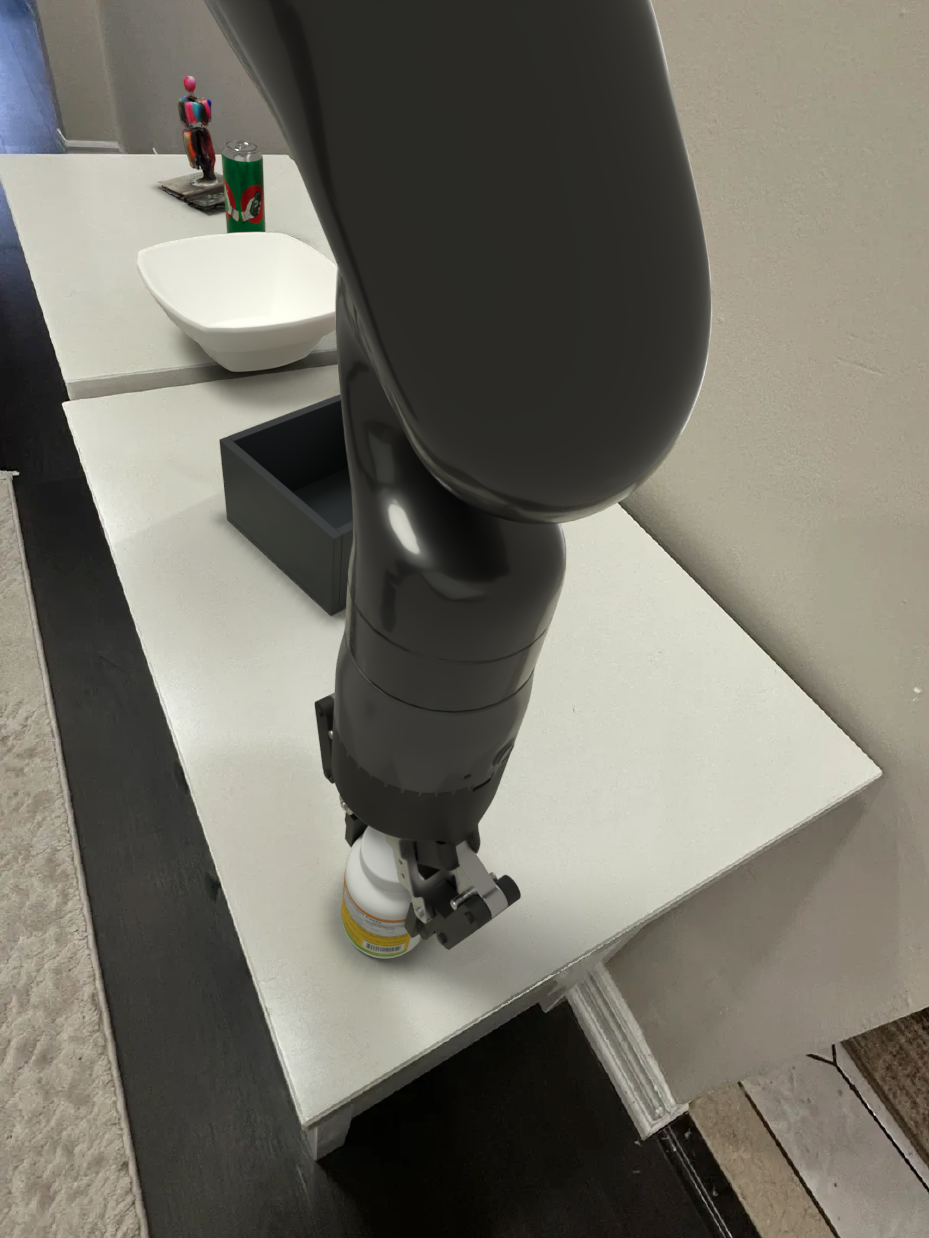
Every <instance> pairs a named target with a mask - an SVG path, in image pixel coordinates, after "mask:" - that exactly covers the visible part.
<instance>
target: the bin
mask: <svg viewBox="0 0 929 1238" xmlns="http://www.w3.org/2000/svg"><path fill="white" fill-rule="evenodd" d="M218 442H219V449H220V450H219V451H220V452H219V453H220V461H221V473H222V482H223V492H224V503H225V512H226V513H225V514H226V520H227V521H228V522H229V523H230V524H231V525H232V526H233V527H234V528H235V529H236V530H237V531H238V532H240V533H241V534H242V535H243V536H244V537H245V538H246V539H247V540H248V541H249V542H250V543H251V544H252V545H254V547H256V548H257V549H258V550H259V552H261V553H262V554H263V555H264V556H265V557H267V558H268V559H269V560H270V561H271V563H273V564H274V565H275V566H276V567H277V568H278V569H279V570H280V571H282V573H284V574H285V575H286V576H287V577H288V578H289V579H290V580H291V581H292V582H293V583H295V584H296V585H297V586H298V587H299V588H300V589H301V590H302V591H303V592H304V593H305V594H306V595H307V596H308V597H310V598H311V600H312V601H314V602H315V603H316V604H317V605H318V606H319V607H320V608H321V609H323V611H325V612H326V613H327V614H328V615H329V616H330V617H332V616H334V615H336V614H338V613H339V612H341V611H343V610H346V600H347V583H348V567H349V559H350V552H351V546H352V540H353V511H352V494H351V484H350V476H349V468H348V461H347V453H346V444H345V437H344V427H343V416H342V406H341V395H340V393H339V394H336V395H333V396H331V397H328V398H325V399H323V400H320V401H317V402H315V403H313V404H309V405H307V406H305V407H302V408H299V409H297V410H293V411H291V412H289V413H286V414H282V415H281V416H278V417H275V418H271V419H270V420H267V421H265V422H262V423H259V424H257V425H256V424H255V425H254V426H250V427H249V428H245V429H243V430H240V431H237V432H235V433H232V434H230V435H227V436H225V437H222V438H220V439H219V441H218Z"/></svg>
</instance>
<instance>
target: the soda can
mask: <svg viewBox="0 0 929 1238" xmlns="http://www.w3.org/2000/svg"><path fill="white" fill-rule="evenodd" d="M220 154H221V156H220V157H221V165H222V166H221V168H222V175H223V184H224V198H225V204H224V205H225V207H224V210H225V224H226V225H225V226H226V234H227V233H244V232H267V231H266V207H265V205H266V204H265V179H264V177H265V176H264V156H263V155H262V153H261V151H260V146H259V145H258V144H257V143H255V142H252V141H250V140H245V139H230V140H226V141H225V142H224V143H223V149H222V151H221V152H220Z"/></svg>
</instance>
